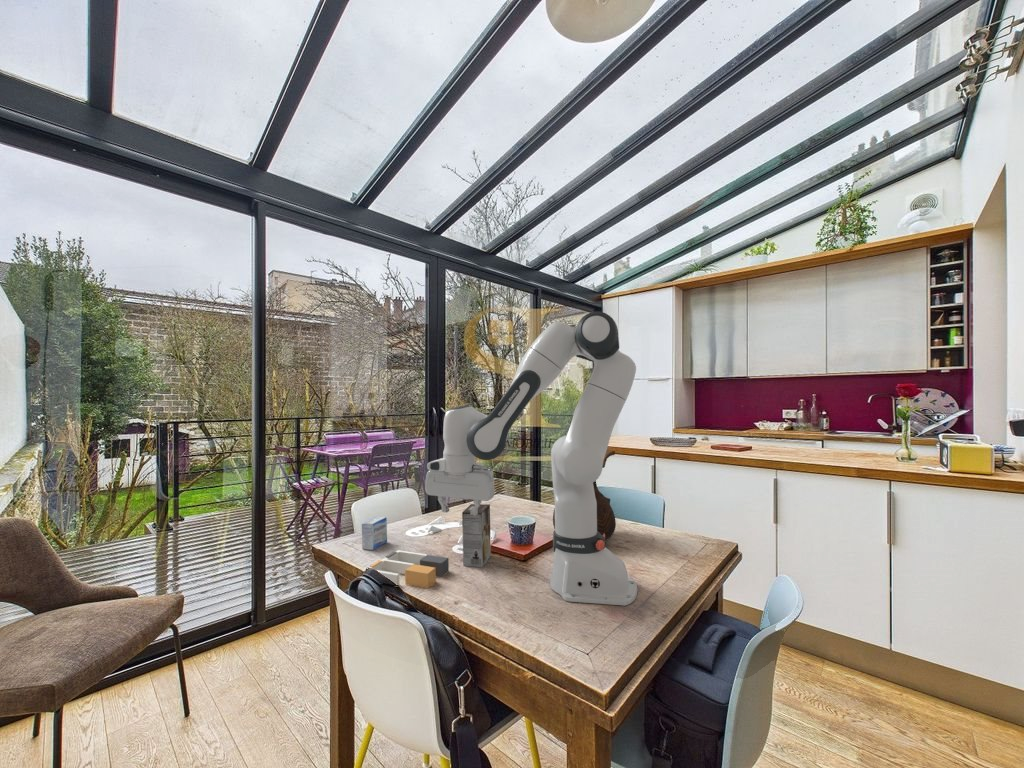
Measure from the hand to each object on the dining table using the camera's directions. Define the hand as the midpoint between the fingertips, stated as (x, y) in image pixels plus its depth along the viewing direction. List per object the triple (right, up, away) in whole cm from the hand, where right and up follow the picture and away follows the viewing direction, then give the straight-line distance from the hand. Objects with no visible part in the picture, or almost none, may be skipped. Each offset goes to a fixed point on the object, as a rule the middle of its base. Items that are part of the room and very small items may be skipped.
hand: (459, 513), depth 123 cm
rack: (-18, -18, +3) cm, 26 cm away
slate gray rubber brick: (-8, -18, +3) cm, 20 cm away
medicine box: (-31, -18, +25) cm, 44 cm away
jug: (+39, -17, +27) cm, 51 cm away
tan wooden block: (-10, -18, -4) cm, 21 cm away
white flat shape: (-5, -18, +35) cm, 40 cm away
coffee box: (+4, -18, +11) cm, 21 cm away
